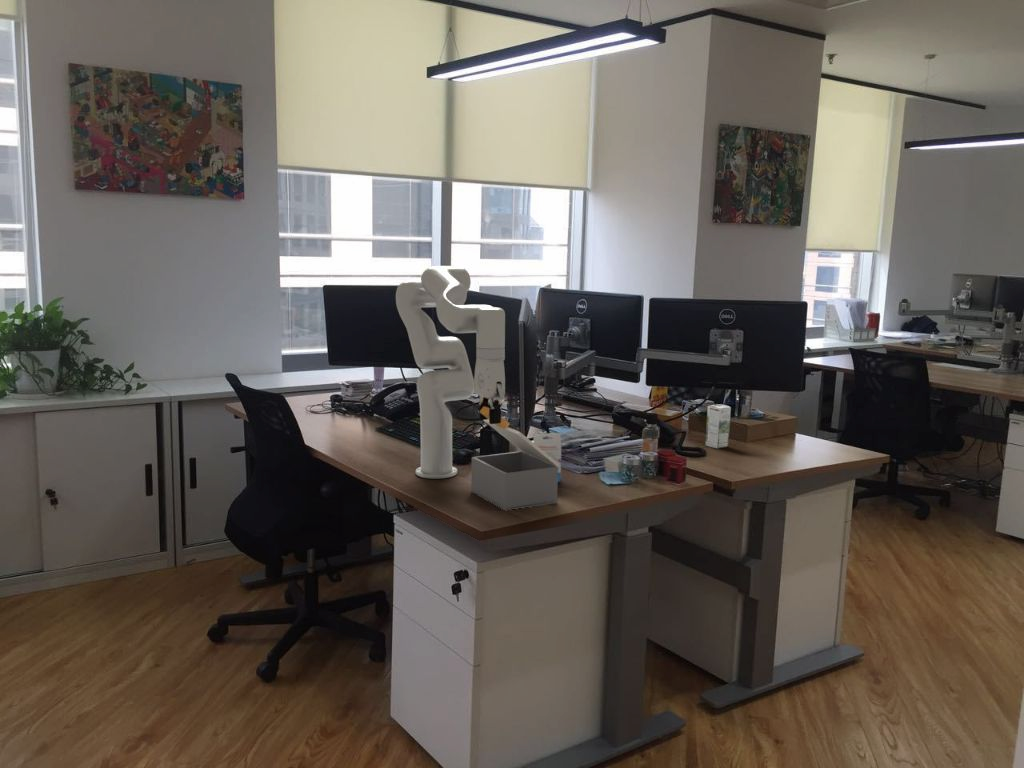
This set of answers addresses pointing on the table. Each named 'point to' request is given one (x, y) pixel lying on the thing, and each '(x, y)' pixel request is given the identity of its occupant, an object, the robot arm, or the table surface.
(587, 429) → the table surface
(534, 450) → the lid flap
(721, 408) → the syrup box
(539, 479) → the carton
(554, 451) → the ink box
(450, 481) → the table surface
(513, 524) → the table surface
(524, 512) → the table surface
